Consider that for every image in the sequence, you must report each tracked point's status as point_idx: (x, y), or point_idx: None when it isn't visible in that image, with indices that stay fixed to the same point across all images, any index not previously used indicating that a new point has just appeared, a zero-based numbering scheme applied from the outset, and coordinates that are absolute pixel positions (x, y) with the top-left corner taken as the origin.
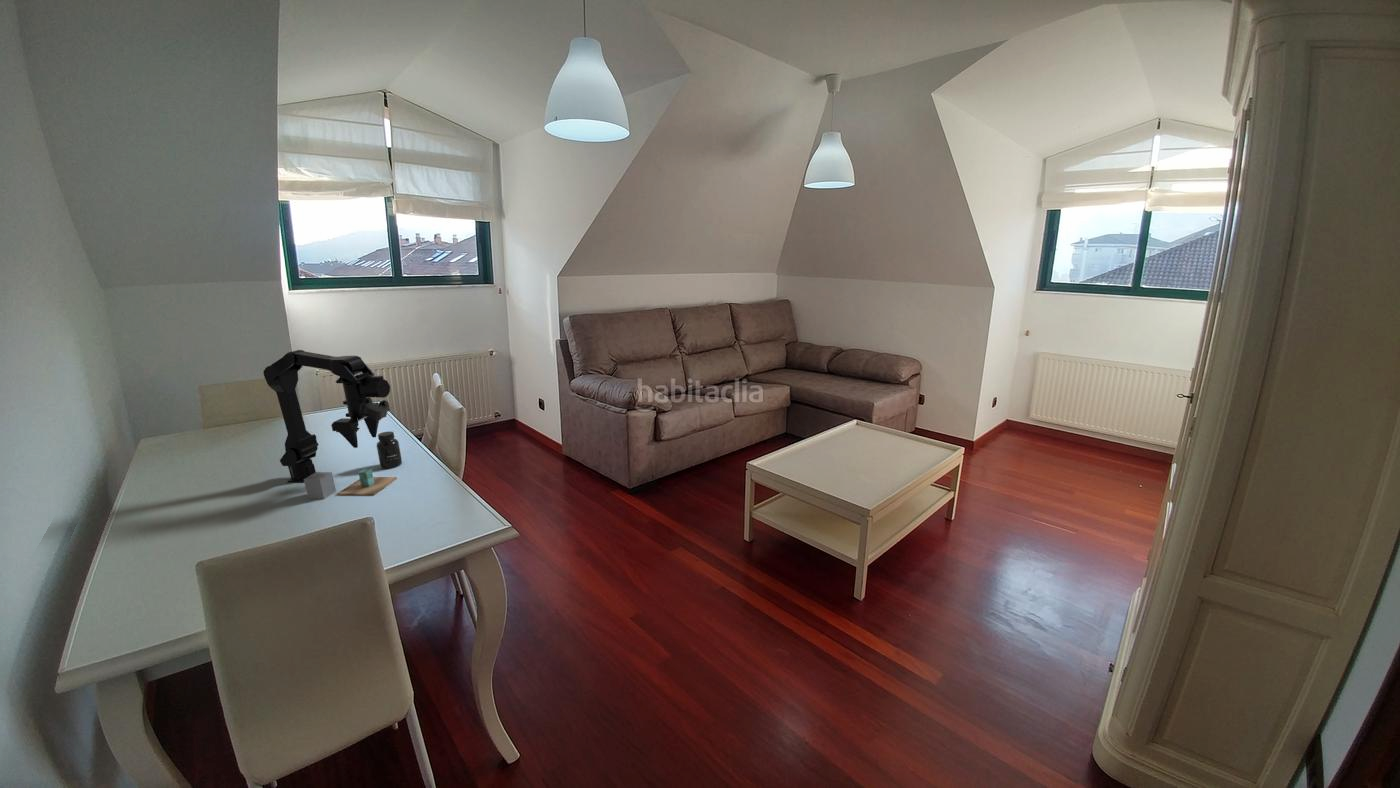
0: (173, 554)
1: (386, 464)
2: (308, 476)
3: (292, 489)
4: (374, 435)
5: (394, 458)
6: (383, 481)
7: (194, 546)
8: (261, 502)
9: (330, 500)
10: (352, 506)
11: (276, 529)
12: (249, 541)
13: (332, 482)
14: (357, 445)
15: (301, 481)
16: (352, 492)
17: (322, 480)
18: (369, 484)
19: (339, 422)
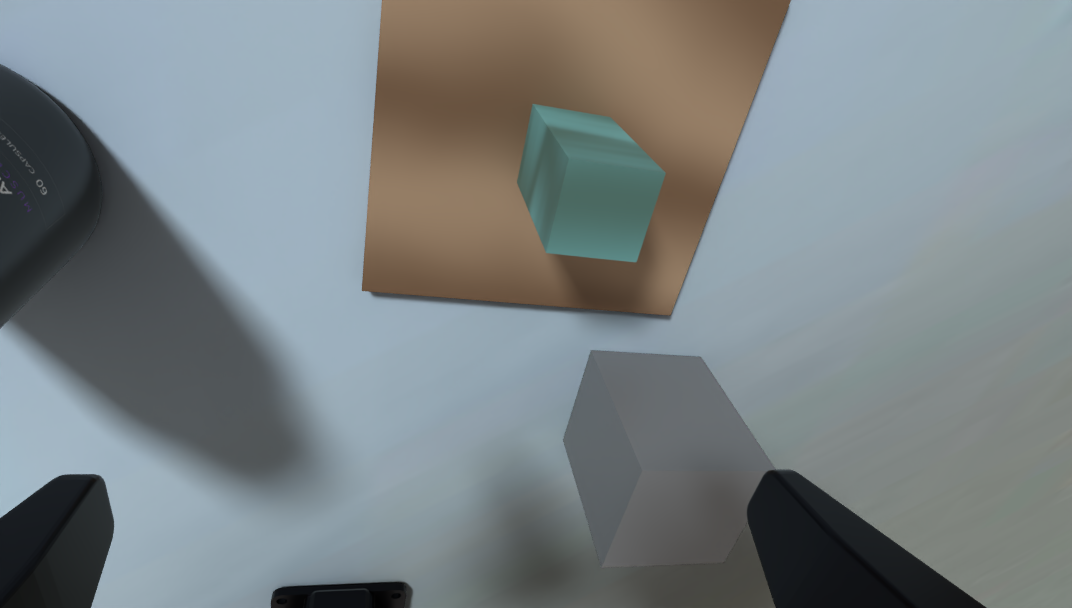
0: (999, 568)
1: (76, 177)
2: (369, 606)
3: (500, 578)
4: (82, 526)
5: None
6: (502, 18)
7: (974, 553)
8: (635, 598)
9: (741, 307)
10: (931, 88)
11: (1008, 375)
12: (1066, 412)
13: (630, 405)
14: (809, 496)
15: (404, 600)
16: (693, 210)
17: (743, 453)
18: (606, 121)
19: None
